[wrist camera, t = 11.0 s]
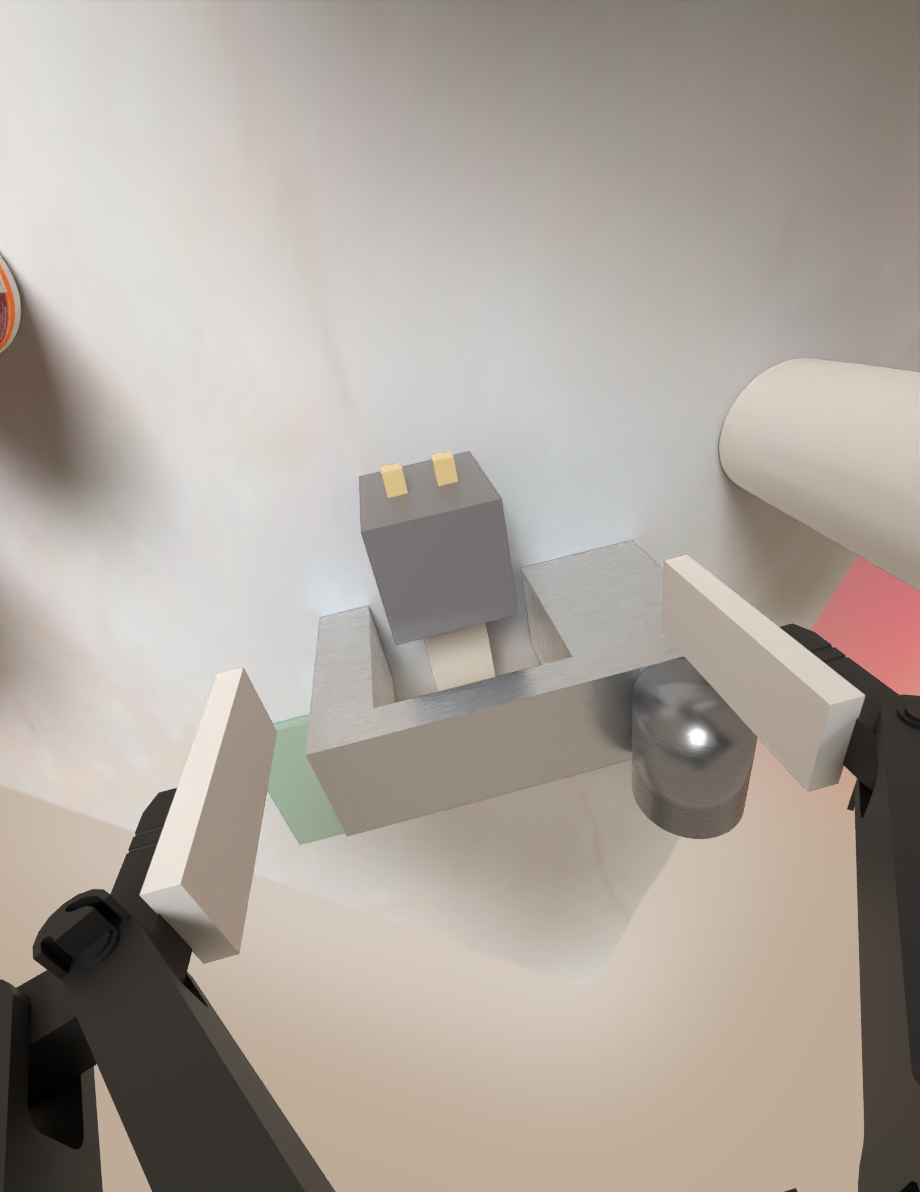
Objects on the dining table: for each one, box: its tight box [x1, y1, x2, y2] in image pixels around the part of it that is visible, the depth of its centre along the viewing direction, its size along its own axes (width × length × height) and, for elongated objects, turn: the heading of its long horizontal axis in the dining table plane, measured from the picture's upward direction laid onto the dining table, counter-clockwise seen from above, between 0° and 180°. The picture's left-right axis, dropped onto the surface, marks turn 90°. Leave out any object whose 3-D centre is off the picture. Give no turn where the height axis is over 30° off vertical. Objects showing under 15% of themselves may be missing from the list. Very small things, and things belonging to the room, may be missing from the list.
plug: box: [359, 451, 518, 692], centre depth 24 cm, size 15×5×6 cm, turn 10°
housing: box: [306, 540, 757, 839], centre depth 23 cm, size 5×16×13 cm, turn 100°
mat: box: [267, 715, 345, 845], centre depth 32 cm, size 10×8×1 cm
